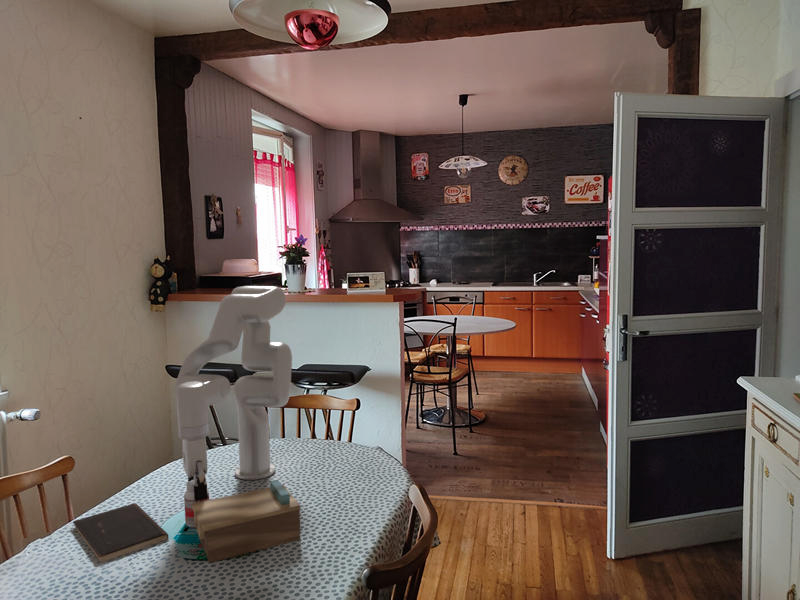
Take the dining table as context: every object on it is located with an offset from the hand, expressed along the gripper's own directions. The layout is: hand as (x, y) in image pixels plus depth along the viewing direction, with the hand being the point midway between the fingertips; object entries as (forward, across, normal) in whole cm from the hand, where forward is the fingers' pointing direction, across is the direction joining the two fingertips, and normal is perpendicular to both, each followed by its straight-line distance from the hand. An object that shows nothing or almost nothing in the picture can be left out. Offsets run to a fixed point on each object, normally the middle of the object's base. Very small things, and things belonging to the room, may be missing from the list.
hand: (197, 491), depth 152 cm
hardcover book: (+9, -3, -19) cm, 21 cm away
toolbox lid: (+3, +16, +9) cm, 18 cm away
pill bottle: (+8, +1, -1) cm, 8 cm away
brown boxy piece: (+8, +16, +9) cm, 20 cm away
